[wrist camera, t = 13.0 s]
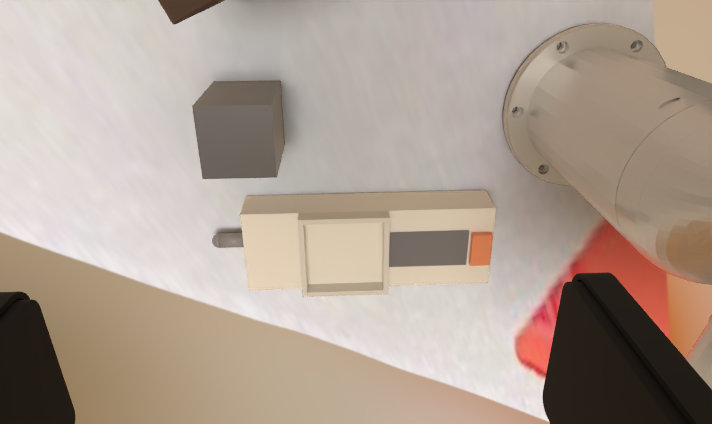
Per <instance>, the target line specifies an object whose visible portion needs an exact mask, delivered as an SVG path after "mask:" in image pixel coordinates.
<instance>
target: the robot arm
mask: <svg viewBox="0 0 712 424" xmlns="http://www.w3.org/2000/svg"><path fill="white" fill-rule="evenodd" d="M633 42H634V44H633V46H632V47H631V45H632V43H633ZM559 43H561V47H560V48H559V49H557V45H558V44H559ZM515 107H517V109H516V111H515V112H512V110H513V109H514V108H515ZM503 122H504V131H505V135H506V139H507V142H508V144H509V146H510V149H511V151H512V153H513V154H514V155H515V157H516V158H517V159H518V161H519V162H520V163H521V164H522V165H523V166H524V167H525V168H526V169H527V170H528V171H529V172H531V173H532V174H534V175H535V176H537V177H538V178H540V179H543V180H546V181H548V182H551V183H555V184H561V185H572V186H573V187H574V188H575V189H576V190H577V191H578V192H579V193H580V194H581V195H582V196H583V197H584V198H585V199H586V200H587V201H588V202H589V203H590V204H591V205H592V206H593V207H594V208H595V209H596V210H597V211H598V212H599V213H600V214H601V215H602V216H603V217H604V218H605V219H606V220H607V221H608V222H609V223H610V224H611V225H612V226H613V227H614V228H615V229H616V230H617V231H618V232H619V233H620V234H621V235H622V236H623V237H624V238H625V239H626V240H627V241H628V242H629V243H630V244H631V245H632V246H633V247H634V248H635V249H636V250H637V251H638V252H639V253H640V254H641V255H642V256H644V257H645V258H646V259H647V260H648V261H650V262H651V263H652V264H653V265H655V266H656V267H658V268H660V269H661V270H663V271H665V272H667V273H669V274H671V275H673V276H676V277H679V278H682V279H685V280H688V281H692V282H696V283H702V284H710V285H712V84H711V83H708V82H705V81H703V80H700V79H697V78H694V77H692V76H688V75H686V74H683V73H680V72H678V71H675V70H672V69H669V68H666V65H665V62H664V60H663V58H662V57H661V55H660V53H659V51H658V50H657V48H656V47H655V46H654V45H653V44H652V43H651V42H650V41H649V40H648V39H647V38H645V37H644V36H642V35H640V34H639V33H637V32H635V31H633V30H630V29H627V28H624V27H621V26H617V25H611V24H587V25H582V26H577V27H573V28H571V29H568V30H566V31H564V32H561V33H559V34H557V35H555V36H554V37H552V38H550V39H549V40H547V41H546V42H544V43H543V44H542V45H541V46H539V47H538V48H537V49H536V50H535V51H534V52H533V53H532V54H530V56H529V57H528V58H527V59H526V60H525V62H524V63H523V64H522V65H521V67H520V68H519V70H518V71H517V73H516V75H515V77H514V78H513V80H512V82H511V84H510V87H509V90H508V93H507V96H506V99H505V105H504V111H503ZM541 165H542V167H540V166H541ZM539 167H540V168H539ZM543 404H544V409H545V412H546V415H547V417H548V419H549V421H550V424H712V315H711V316H710V319H709V322H708V324H707V326H706V327H705V329H704V330H703V332H702V333H701V335H700V336H699V338H698V340H697V341H696V343H695V344H694V346H693V347H692V349H691V351H690V352H689V354H688V355H687V357H686V358H684V357H683V355H682V354H681V353H680V352H679V351H678V350H677V348H676V347H675V346H674V345H673V344H672V343H671V341H670V340H669V339H668V338H667V337H666V336H665V334H664V333H663V332H662V331H661V330H660V329H659V327H658V326H657V325H656V324H655V323H654V322H653V320H652V319H651V318H650V317H649V316H648V315H647V313H646V312H645V311H644V310H643V309H642V308H641V307H640V305H639V304H638V303H637V302H636V301H635V300H634V298H633V297H632V296H631V295H630V294H629V293H628V291H627V290H626V289H625V288H624V287H623V286H622V284H621V283H620V282H619V281H618V280H617V279H616V277H615V276H614V275H612V274H611V273H580V274H576V275H575V276H574V278H573V280H572V282H566V283H565V284H564V286H563V290H562V295H561V300H560V305H559V311H558V316H557V321H556V326H555V332H554V337H553V342H552V347H551V353H550V358H549V363H548V369H547V374H546V379H545V384H544V390H543ZM0 424H75V411H74V407H73V404H72V402H71V398H70V395H69V392H68V389H67V386H66V383H65V381H64V378H63V375H62V371H61V368H60V366H59V363H58V359H57V356H56V353H55V350H54V347H53V344H52V342H51V339H50V335H49V332H48V329H47V326H46V323H45V320H44V317H43V314H42V312H41V308H40V306H39V304H38V303H37V301H35V300H30V298H29V296H28V295H27V294H26V293H23V292H0Z"/></svg>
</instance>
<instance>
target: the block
mask: <svg viewBox="0 0 712 424" xmlns="http://www.w3.org/2000/svg"><path fill="white" fill-rule="evenodd" d="M192 107H193V114H194V121H195V128H196V135H197V142H198V149H199V156H200V163H201V170H202V177H203V179H221V178H267V177H277V175H278V170H279V166H280V162H281V158H282V153H283V149H284V145H285V140H284V125H283V111H282V96H281V81H221V82H213V83H212V84H211V85H210V87H209V88H208V89H207V90H206V91H205V92H204V93H203V95H202V96H201V97H200V98H199V99H198V100H197V102H196V103H195V104H194V105H193V106H192Z"/></svg>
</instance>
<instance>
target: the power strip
mask: <svg viewBox="0 0 712 424" xmlns="http://www.w3.org/2000/svg"><path fill="white" fill-rule="evenodd" d="M495 216H496V207H495V205H494V203H493V202H492V200H491V199H490V197H489V195H488V194H487V192H486V191H485V190H462V191H422V192H382V193H342V194H302V195H262V196H246V198H245V201H244V204H243V207H242V210H241V213H240V219H241V228H242V233H219V234H216V235H215V236H214V237H213V239H212V242H213V245H214V246H216V247H218V248H227V247H244V254H245V262H246V271H247V279H248V288H249V290H269V289H301V288H302V297H313V296H345V295H377V294H388V286H398V285H431V284H463V283H488V274H489V266H490V258H491V249H492V241H493V232H494V224H495Z"/></svg>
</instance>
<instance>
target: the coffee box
mask: <svg viewBox="0 0 712 424" xmlns="http://www.w3.org/2000/svg"><path fill="white" fill-rule="evenodd" d="M158 1H159V2H160V4H161V6H162V7H163V9H164V10H165V12H166V14H167V15H168V17H169V19H170V20H171V22H172V23H173V24H177V23H179V22H181V21H183V20H185V19H187V18H189V17H191V16H193V15H195V14H198V13H200V12H202V11H204V10H206V9H208V8H210V7H212V6H214V5H216V4H218V3H221V2H223V1H225V0H158Z"/></svg>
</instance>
